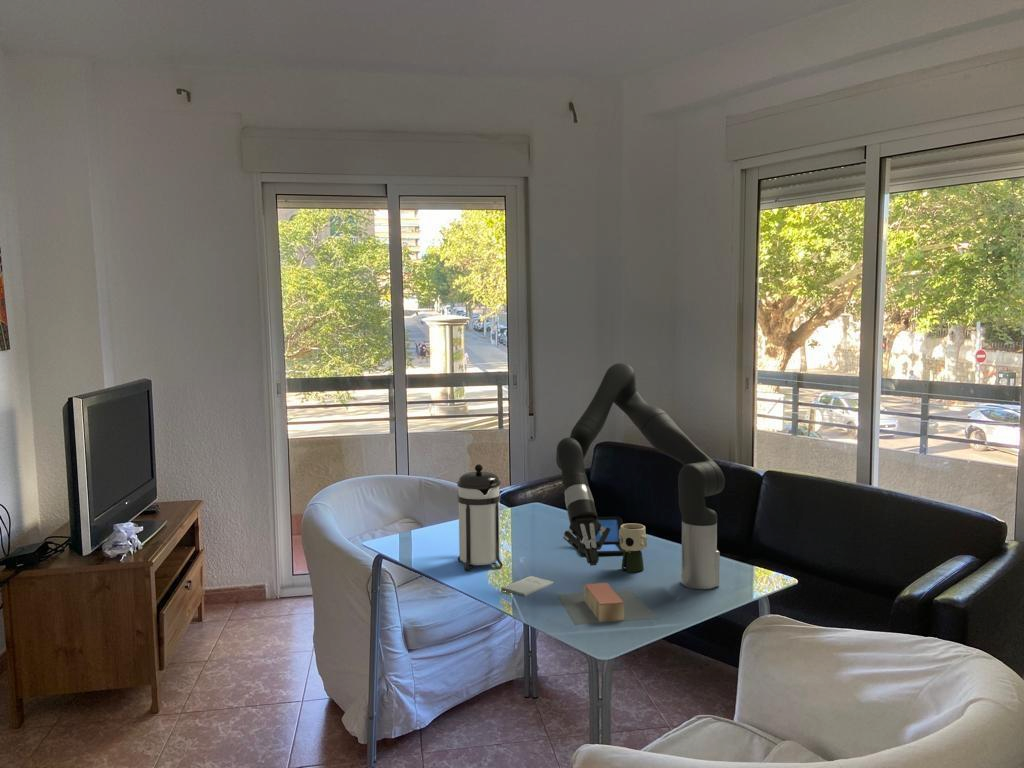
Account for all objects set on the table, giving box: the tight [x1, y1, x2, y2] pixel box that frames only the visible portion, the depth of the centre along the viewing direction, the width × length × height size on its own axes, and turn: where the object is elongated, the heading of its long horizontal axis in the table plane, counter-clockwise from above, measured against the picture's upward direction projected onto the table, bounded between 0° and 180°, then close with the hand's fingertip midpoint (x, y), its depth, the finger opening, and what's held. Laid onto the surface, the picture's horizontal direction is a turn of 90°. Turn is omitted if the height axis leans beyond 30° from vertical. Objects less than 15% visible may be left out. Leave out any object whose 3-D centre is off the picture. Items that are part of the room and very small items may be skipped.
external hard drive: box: [500, 575, 554, 597], centre depth 199 cm, size 2×8×12 cm
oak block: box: [583, 582, 624, 623], centre depth 182 cm, size 6×4×14 cm
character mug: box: [619, 523, 648, 573], centre depth 212 cm, size 11×7×13 cm, turn 35°
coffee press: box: [456, 463, 504, 572], centre depth 219 cm, size 17×16×30 cm
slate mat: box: [556, 589, 658, 625], centre depth 184 cm, size 20×20×1 cm
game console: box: [575, 516, 625, 557], centre depth 233 cm, size 16×14×9 cm
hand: (593, 564), depth 190 cm, fingers closed
